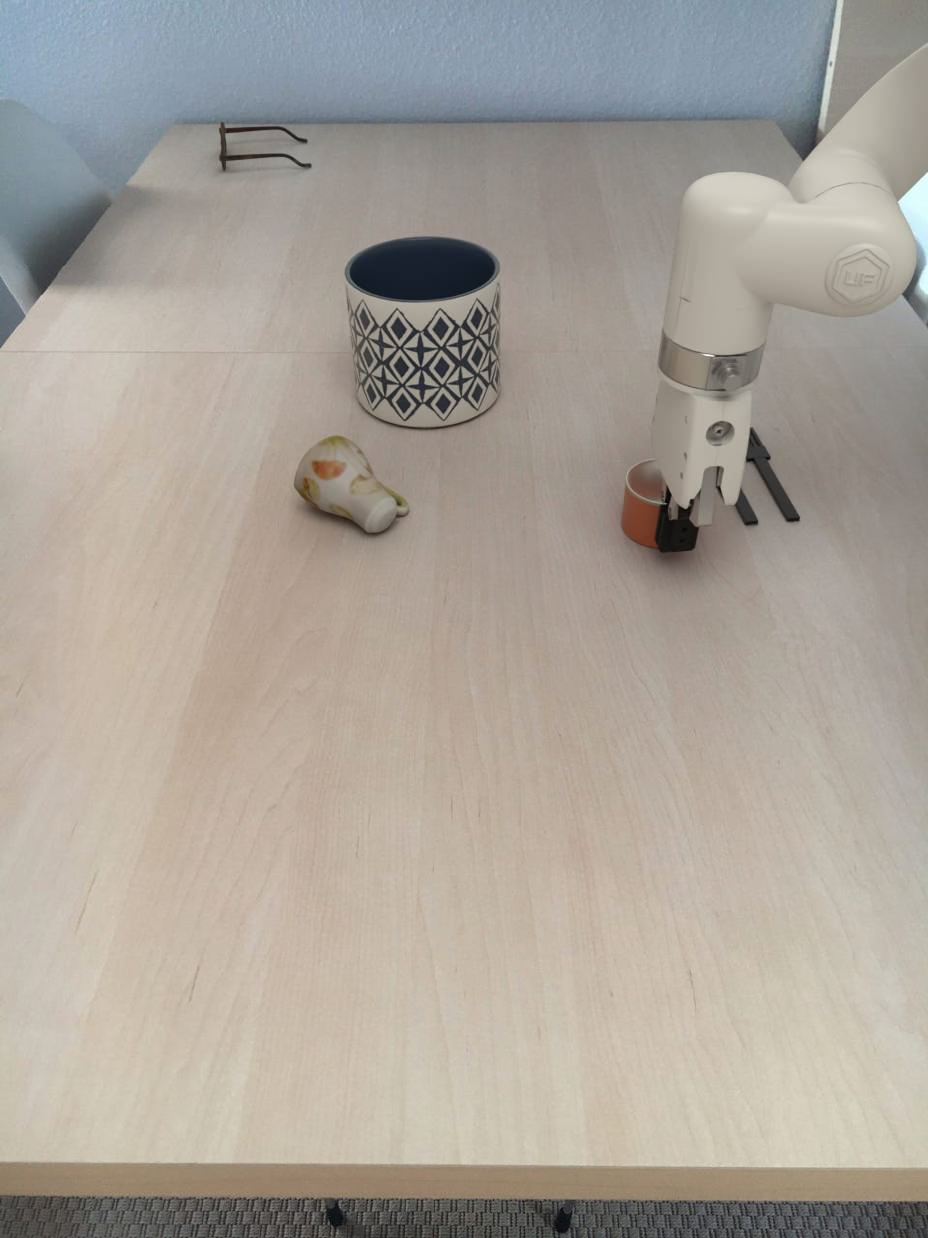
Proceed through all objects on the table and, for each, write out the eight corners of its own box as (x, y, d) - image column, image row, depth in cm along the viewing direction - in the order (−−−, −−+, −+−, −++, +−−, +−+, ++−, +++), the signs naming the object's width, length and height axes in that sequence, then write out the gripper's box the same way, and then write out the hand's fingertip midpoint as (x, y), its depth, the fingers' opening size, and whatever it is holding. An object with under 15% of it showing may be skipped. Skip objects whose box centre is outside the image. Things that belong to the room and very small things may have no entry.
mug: (371, 559, 89) (309, 469, 85) (327, 547, 97) (269, 465, 93) (430, 508, 92) (372, 418, 87) (382, 501, 100) (328, 418, 95)
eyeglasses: (221, 147, 172) (216, 116, 168) (307, 140, 173) (303, 109, 170) (222, 176, 161) (216, 144, 158) (313, 168, 163) (309, 136, 159)
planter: (404, 448, 102) (394, 317, 92) (331, 384, 112) (316, 259, 102) (528, 401, 108) (532, 274, 98) (449, 344, 118) (445, 223, 108)
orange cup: (713, 525, 92) (722, 481, 88) (664, 559, 88) (671, 514, 85) (653, 493, 95) (659, 449, 92) (604, 524, 92) (609, 479, 89)
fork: (805, 520, 92) (806, 516, 92) (780, 522, 92) (781, 519, 91) (752, 429, 103) (753, 426, 103) (730, 431, 103) (730, 428, 103)
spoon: (770, 523, 92) (771, 518, 91) (732, 526, 91) (733, 521, 91) (721, 433, 103) (722, 428, 102) (687, 435, 103) (688, 430, 102)
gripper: (794, 403, 69) (743, 599, 81) (727, 306, 79) (691, 492, 92) (689, 410, 68) (654, 607, 80) (636, 311, 79) (612, 498, 91)
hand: (674, 545), depth 86 cm, fingers closed
